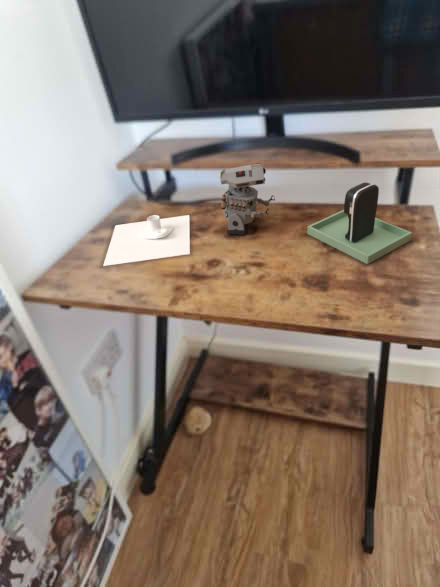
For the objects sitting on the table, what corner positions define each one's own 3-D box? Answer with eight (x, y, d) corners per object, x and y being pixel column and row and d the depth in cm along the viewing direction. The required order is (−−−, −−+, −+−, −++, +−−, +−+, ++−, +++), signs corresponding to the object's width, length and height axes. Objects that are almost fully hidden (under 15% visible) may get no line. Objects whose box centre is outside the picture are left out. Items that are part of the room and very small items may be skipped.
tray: (410, 240, 85) (412, 232, 84) (367, 264, 80) (368, 256, 79) (348, 214, 97) (349, 207, 96) (307, 233, 92) (307, 226, 91)
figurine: (268, 237, 93) (265, 174, 84) (221, 235, 96) (213, 174, 87) (275, 218, 100) (273, 158, 91) (231, 217, 103) (224, 159, 94)
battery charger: (360, 226, 91) (365, 178, 84) (374, 232, 88) (381, 182, 81) (339, 238, 88) (342, 188, 81) (353, 244, 86) (357, 194, 79)
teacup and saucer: (172, 239, 98) (168, 224, 95) (139, 244, 98) (135, 229, 95) (173, 222, 105) (170, 208, 102) (142, 227, 105) (139, 212, 102)
